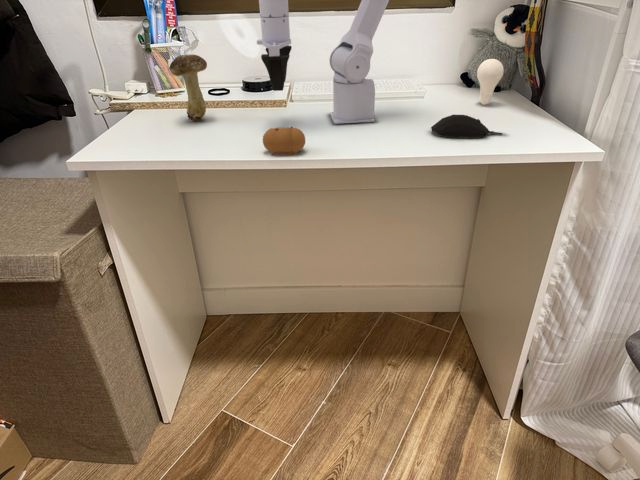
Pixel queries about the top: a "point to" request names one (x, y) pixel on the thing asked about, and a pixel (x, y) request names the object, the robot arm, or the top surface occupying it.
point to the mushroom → (191, 82)
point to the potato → (284, 140)
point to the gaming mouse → (461, 127)
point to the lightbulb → (489, 78)
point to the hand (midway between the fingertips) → (279, 85)
